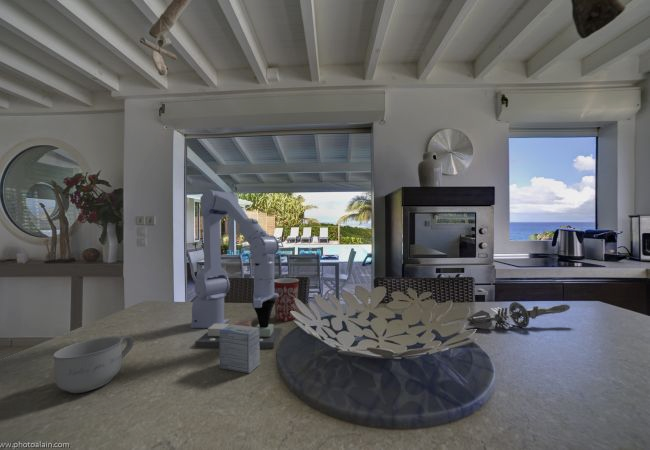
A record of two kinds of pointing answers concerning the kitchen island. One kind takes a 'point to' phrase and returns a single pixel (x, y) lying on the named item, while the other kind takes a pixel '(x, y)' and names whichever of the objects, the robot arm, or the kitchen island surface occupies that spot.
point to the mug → (285, 298)
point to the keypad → (263, 341)
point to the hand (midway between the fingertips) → (264, 326)
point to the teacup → (89, 363)
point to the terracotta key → (242, 323)
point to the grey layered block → (239, 348)
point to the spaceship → (512, 315)
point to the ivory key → (216, 329)
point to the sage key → (265, 330)
